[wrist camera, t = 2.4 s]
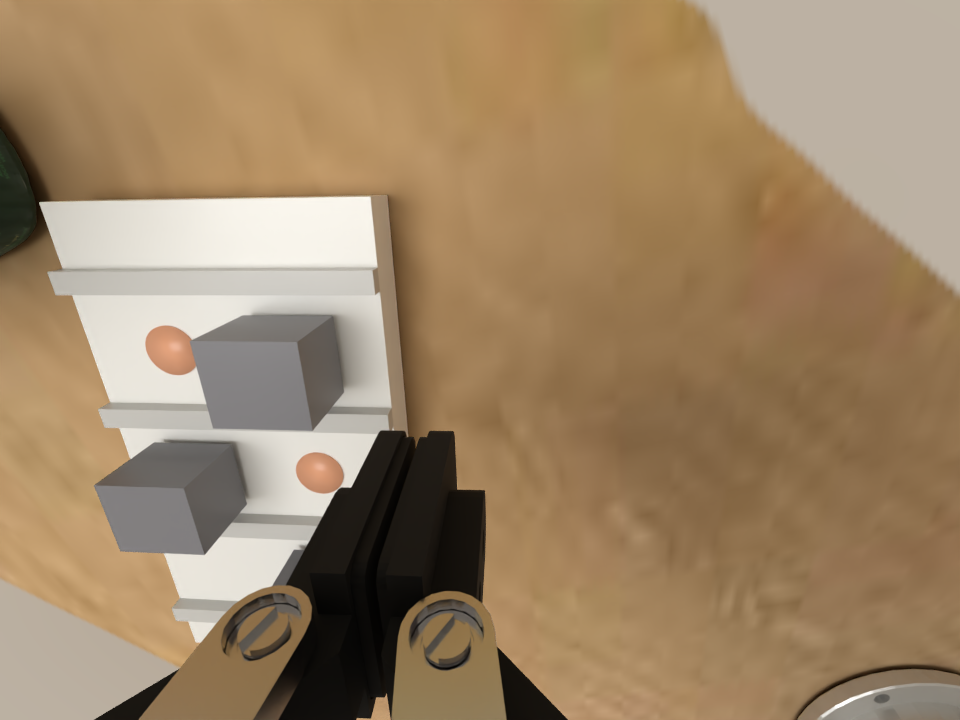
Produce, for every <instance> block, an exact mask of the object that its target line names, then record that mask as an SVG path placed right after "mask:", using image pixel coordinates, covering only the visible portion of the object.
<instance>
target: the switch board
mask: <svg viewBox="0 0 960 720" xmlns="http://www.w3.org/2000/svg"><path fill="white" fill-rule="evenodd" d="M39 204H40V207H41V209H42V212H43V215H44V218H45V221H46V223H47V226H48V229H49V232H50V235H51V238H52V240H53V243H54V246H55V249H56V252H57V254H58V257H59V260H60V263H61V266H62V268H63V269H60V270H54V271H49V272H47V273H48V276H49V278H50V281H51V284H52V286H53V289H54V292H55V294H56V295H72V296H73V299H74V302H75V305H76V308H77V310H78V313H79V316H80V319H81V322H82V324H83V327H84V330H85V333H86V336H87V338H88V341H89V344H90V347H91V350H92V352H93V355H94V358H95V361H96V364H97V367H98V369H99V372H100V375H101V378H102V381H103V383H104V386H105V389H106V392H107V395H108V397H109V400H110V403H108V404H107V405H105V406H103V407H101V408H99V409H98V411H99V413H100V416H101V419H102V421H103V424H104V427H105V428H120V431H121V434H122V437H123V439H124V442H125V445H126V448H127V451H128V453H129V456H130V459H132V458H133V457H134V456H136V455H137V454H138V453H140V452H141V451H143V450H144V449H145V448H147V447H148V446H150V445H151V444H152V443H154V442H163V443H202V444H232V448H233V452H234V456H235V459H236V463H237V467H238V471H239V475H240V479H241V483H242V487H243V491H244V495H245V499H246V502H247V505H246V506H245V507H244V509H243V510H242V511H241V512H240V513H239V515H238V516H237V517H236V518H235V519H234V521H233V522H232V523H231V524H230V525H229V526H228V528H227V529H226V530H225V531H224V532H223V534H222V535H221V536H220V537H219V538H218V540H217V541H216V542H215V543H214V544H213V546H212V547H211V548H210V549H209V550H208V552H207V553H206V554H205V555H192V554H169V553H164V554H165V557H166V560H167V563H168V566H169V568H170V571H171V574H172V577H173V580H174V582H175V585H176V588H177V591H178V594H179V596H180V599H179V600H178V601H177V603H176V604H175V605H174V606H173V607H172V611H173V613H174V616H175V619H176V621H188V622H189V624H190V627H191V630H192V633H193V636H194V639H195V641H196V642H202V641H203V639H204V638H205V637H206V636H207V634H208V633H209V632H210V631H211V629H212V628H213V627H214V626H215V624H216V623H217V622H218V621H219V620H220V618H221V617H222V616H223V615H224V614H225V613H226V612H227V611H228V610H229V609H230V608H231V607H232V606H233V605H234V604H235V603H237V602H238V601H240V600H241V599H243V598H244V597H246V596H247V595H249V594H251V593H253V592H256V591H258V590H260V589H263V588H267V587H272V585H273V583H274V582H275V580H276V578H277V577H278V575H279V573H280V572H281V570H282V568H283V567H284V565H285V564H286V562H287V560H288V559H289V557H290V555H291V554H292V552H293V550H305V548H306V546H307V544H308V543H309V541H310V539H311V537H312V535H313V533H314V531H315V530H316V528H317V526H318V524H319V522H320V520H321V518H322V517H323V515H324V513H325V511H326V509H327V507H328V505H329V504H330V502H331V500H332V498H333V496H334V494H335V493H336V491H337V490H338V489H339V488H341V487H348V488H351V487H352V485H353V483H354V481H355V479H356V477H357V475H358V473H359V471H360V469H361V467H362V465H363V463H364V461H365V459H366V457H367V455H368V453H369V451H370V449H371V447H372V445H373V443H374V441H375V439H376V437H377V435H378V433H379V432H380V431H381V430H395V431H405V432H406V435H407V437H408V426H407V414H406V403H405V391H404V380H403V368H402V357H401V346H400V334H399V323H398V311H397V300H396V288H395V277H394V265H393V254H392V242H391V231H390V220H389V208H388V197H387V195H356V196H297V197H238V198H179V199H120V200H79V201H54V202H39ZM242 315H303V316H333V318H334V325H335V332H336V339H337V346H338V353H339V360H340V367H341V374H342V381H343V388H344V393H343V394H342V396H341V397H340V398H339V399H338V400H337V402H336V403H335V404H334V405H333V407H332V408H331V409H330V410H329V412H328V413H327V414H326V415H325V416H324V418H323V419H322V420H321V421H320V423H319V424H318V425H317V426H316V427H315V429H314V430H313V431H295V430H252V429H213V427H212V423H211V419H210V415H209V412H208V408H207V404H206V401H205V397H204V393H203V389H202V386H201V382H200V378H199V375H198V371H197V367H196V363H195V360H194V356H193V352H192V349H191V345H190V341H191V340H193V339H195V338H197V337H199V336H201V335H203V334H205V333H207V332H209V331H211V330H214V329H216V328H218V327H220V326H222V325H224V324H226V323H228V322H230V321H232V320H234V319H236V318H238V317H240V316H242Z"/></svg>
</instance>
